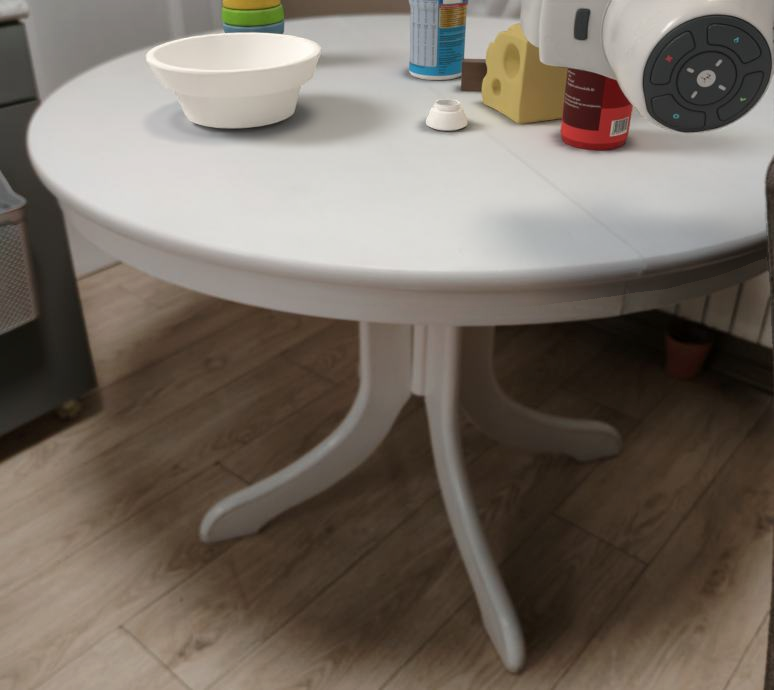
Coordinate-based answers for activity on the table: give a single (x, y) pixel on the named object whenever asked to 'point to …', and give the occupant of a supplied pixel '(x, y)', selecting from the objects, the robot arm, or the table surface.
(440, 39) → the beverage bottle
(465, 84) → the back rail
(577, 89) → the canned food
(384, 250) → the table surface
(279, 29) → the stacking bear
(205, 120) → the bowl
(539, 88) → the cheese
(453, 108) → the lidless jar
